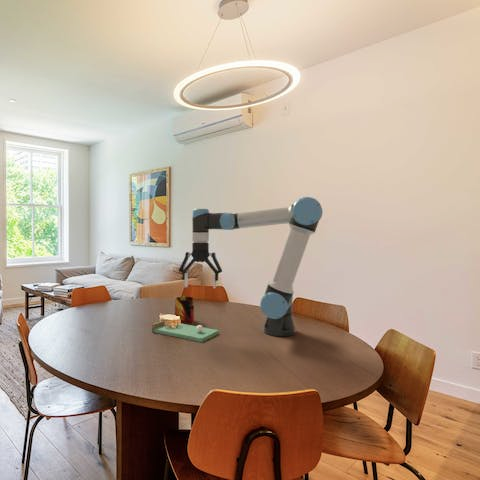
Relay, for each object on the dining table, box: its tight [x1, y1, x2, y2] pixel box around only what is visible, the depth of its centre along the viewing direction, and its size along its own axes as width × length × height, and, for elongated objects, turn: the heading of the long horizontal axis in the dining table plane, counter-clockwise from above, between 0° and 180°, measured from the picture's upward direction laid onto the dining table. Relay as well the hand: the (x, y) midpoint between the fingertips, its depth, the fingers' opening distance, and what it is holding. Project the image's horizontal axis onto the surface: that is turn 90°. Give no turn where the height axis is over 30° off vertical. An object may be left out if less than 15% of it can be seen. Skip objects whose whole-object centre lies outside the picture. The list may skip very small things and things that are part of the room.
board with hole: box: [151, 320, 220, 343], centre depth 159 cm, size 28×14×4 cm, turn 62°
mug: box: [174, 296, 195, 324], centre depth 178 cm, size 10×14×12 cm
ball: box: [196, 324, 204, 332], centre depth 155 cm, size 3×3×3 cm
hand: (200, 287), depth 160 cm, fingers open, 13 cm apart
